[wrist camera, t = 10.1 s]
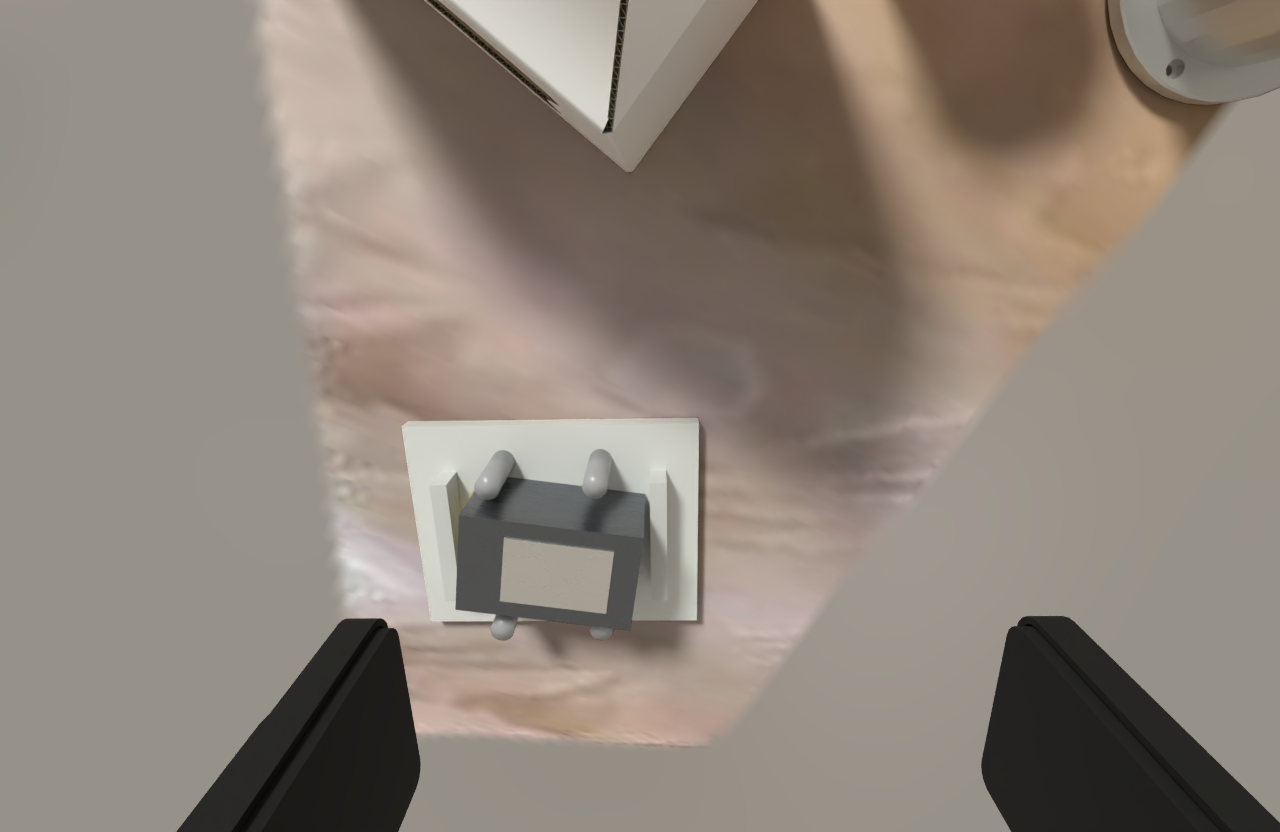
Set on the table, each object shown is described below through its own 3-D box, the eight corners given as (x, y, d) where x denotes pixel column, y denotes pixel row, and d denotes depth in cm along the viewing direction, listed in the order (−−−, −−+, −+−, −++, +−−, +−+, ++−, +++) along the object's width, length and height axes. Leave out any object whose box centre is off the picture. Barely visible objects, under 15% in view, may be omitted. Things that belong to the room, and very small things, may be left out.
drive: (645, 494, 38) (643, 539, 33) (633, 576, 40) (630, 631, 35) (477, 473, 38) (449, 515, 33) (473, 557, 40) (445, 609, 35)
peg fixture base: (697, 417, 38) (704, 447, 33) (695, 611, 42) (701, 661, 37) (407, 421, 38) (373, 451, 33) (435, 612, 43) (408, 662, 38)
